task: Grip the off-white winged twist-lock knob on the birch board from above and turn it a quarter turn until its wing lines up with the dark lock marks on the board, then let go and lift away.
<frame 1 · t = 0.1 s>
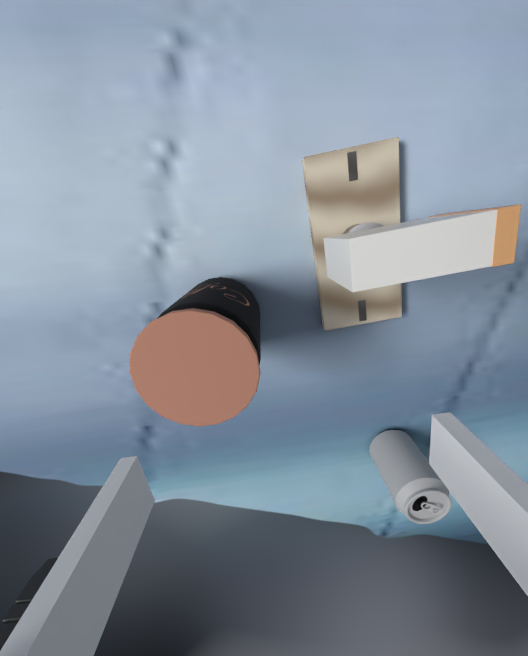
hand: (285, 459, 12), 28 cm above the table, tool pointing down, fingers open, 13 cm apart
lock board: (353, 244, 36), on the table
coffee jar: (223, 312, 39), on the table
twist knob: (395, 247, 25), point 11 cm above the table, hinge at 0.0°
can: (387, 442, 47), on the table
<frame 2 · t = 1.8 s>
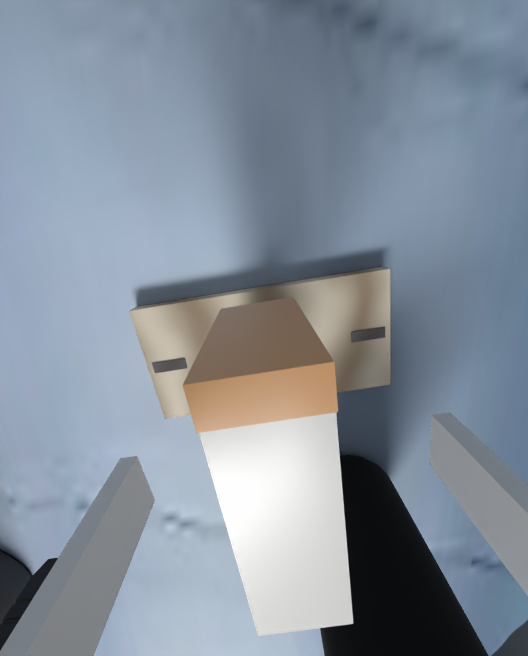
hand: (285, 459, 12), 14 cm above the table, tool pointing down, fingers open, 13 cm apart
lock board: (267, 343, 25), on the table
coffee jar: (341, 484, 32), on the table
twist knob: (275, 422, 14), point 11 cm above the table, hinge at 0.0°
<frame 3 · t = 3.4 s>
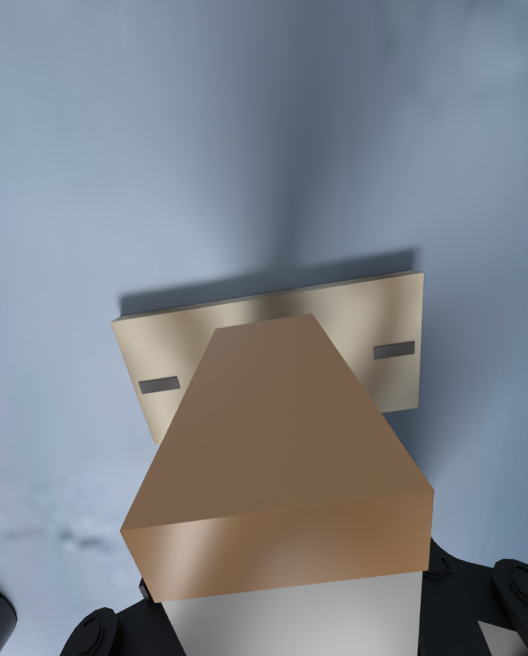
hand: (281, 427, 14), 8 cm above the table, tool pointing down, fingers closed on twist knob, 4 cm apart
lock board: (273, 359, 22), on the table
twist knob: (288, 481, 11), point 11 cm above the table, hinge at 0.0°, touching gripper
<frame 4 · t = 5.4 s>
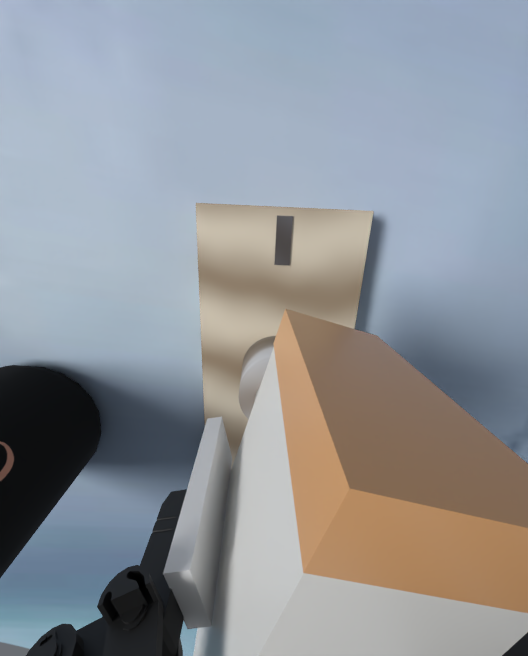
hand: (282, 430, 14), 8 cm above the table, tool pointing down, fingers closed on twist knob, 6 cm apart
lock board: (274, 358, 21), on the table
coffee jar: (46, 413, 23), on the table
twist knob: (291, 481, 11), point 11 cm above the table, hinge at 75.4°, touching gripper
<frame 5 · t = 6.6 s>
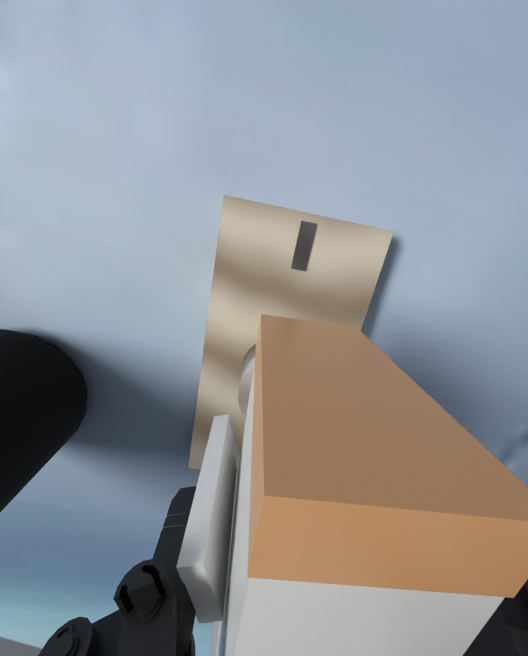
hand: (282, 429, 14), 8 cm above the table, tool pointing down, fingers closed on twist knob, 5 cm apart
lock board: (274, 359, 21), on the table
coffee jar: (31, 383, 22), on the table
twist knob: (289, 481, 11), point 11 cm above the table, hinge at 92.4°, touching gripper
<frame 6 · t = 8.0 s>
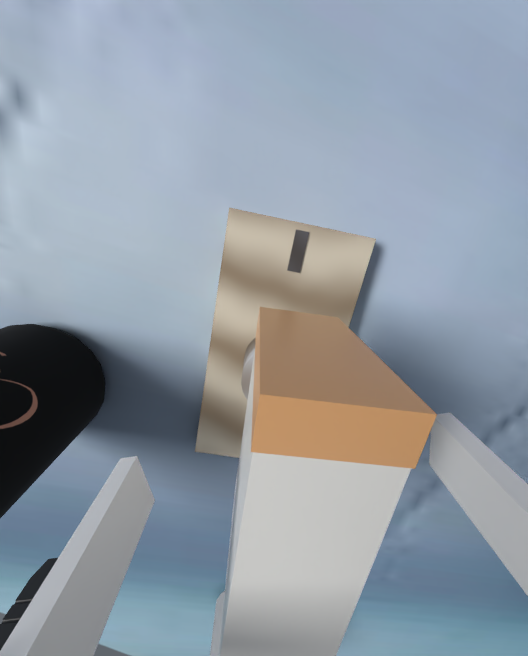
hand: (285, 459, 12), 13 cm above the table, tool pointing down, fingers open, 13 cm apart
lock board: (272, 352, 24), on the table
coffee jar: (54, 373, 25), on the table
twist knob: (283, 442, 13), point 11 cm above the table, hinge at 93.0°
can: (245, 593, 35), on the table
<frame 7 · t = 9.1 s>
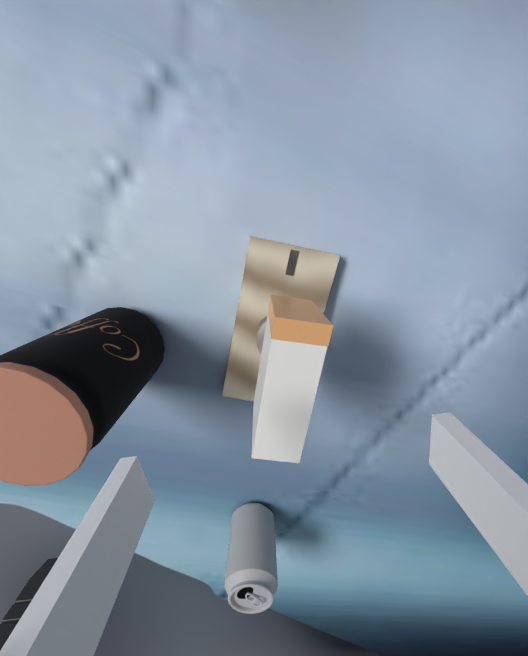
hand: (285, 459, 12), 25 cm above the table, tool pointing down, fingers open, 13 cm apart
lock board: (275, 328, 36), on the table
coffee jar: (129, 341, 37), on the table
twist knob: (282, 364, 25), point 11 cm above the table, hinge at 93.0°
can: (252, 513, 47), on the table
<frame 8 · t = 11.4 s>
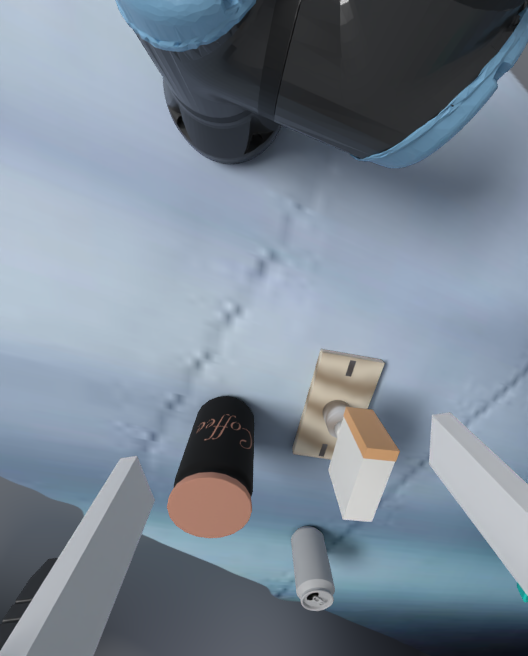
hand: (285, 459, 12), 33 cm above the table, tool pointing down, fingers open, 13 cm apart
lock board: (333, 406, 50), on the table
coffee jar: (226, 416, 50), on the table
twist knob: (354, 453, 39), point 11 cm above the table, hinge at 93.0°
can: (306, 533, 61), on the table
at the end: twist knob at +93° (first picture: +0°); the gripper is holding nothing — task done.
